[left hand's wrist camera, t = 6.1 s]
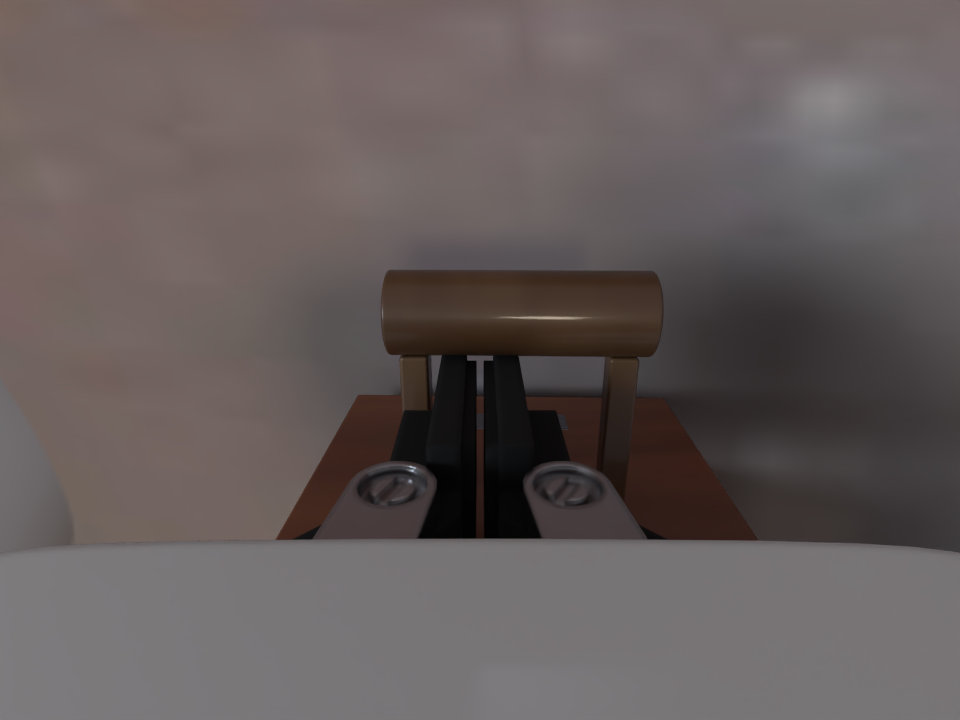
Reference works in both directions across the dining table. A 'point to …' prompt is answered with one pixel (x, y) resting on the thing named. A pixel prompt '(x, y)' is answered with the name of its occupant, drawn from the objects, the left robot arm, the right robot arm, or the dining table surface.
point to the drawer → (584, 420)
